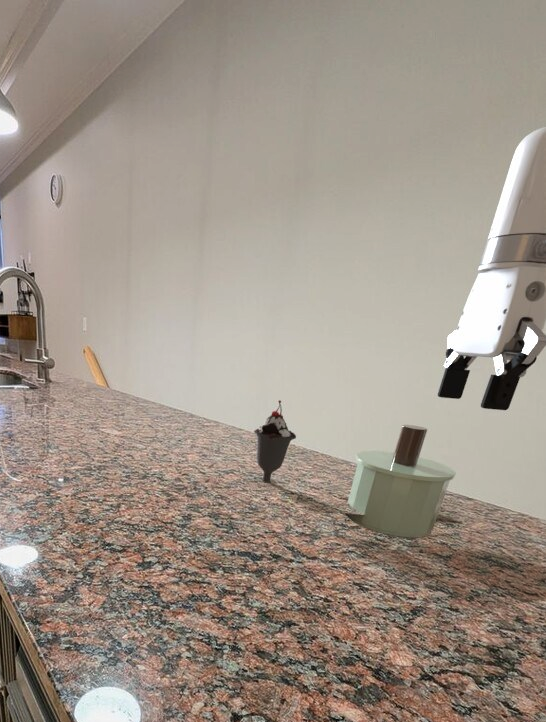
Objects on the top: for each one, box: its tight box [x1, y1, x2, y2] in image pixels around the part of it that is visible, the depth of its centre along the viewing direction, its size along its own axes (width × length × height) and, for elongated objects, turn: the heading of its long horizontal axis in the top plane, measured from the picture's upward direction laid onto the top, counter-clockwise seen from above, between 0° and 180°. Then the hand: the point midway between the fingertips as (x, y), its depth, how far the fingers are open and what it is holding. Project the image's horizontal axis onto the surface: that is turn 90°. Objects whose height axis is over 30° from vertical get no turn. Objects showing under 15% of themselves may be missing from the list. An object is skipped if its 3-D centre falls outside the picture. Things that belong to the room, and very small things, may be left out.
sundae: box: [253, 399, 297, 483], centre depth 73 cm, size 7×7×15 cm
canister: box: [345, 462, 451, 539], centre depth 66 cm, size 12×12×8 cm
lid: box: [354, 424, 456, 482], centre depth 64 cm, size 13×13×6 cm
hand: (469, 403), depth 60 cm, fingers open, 9 cm apart
